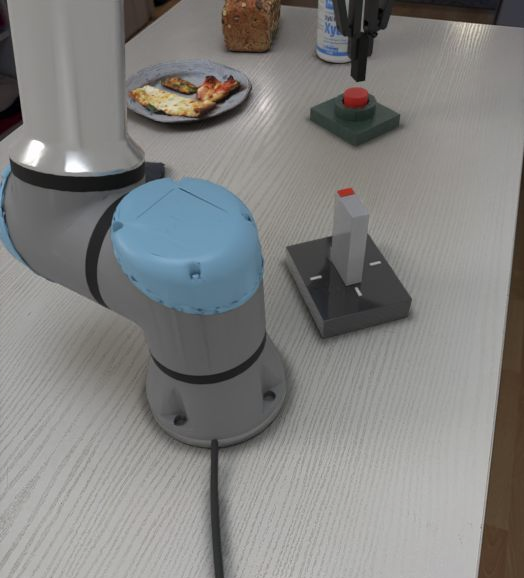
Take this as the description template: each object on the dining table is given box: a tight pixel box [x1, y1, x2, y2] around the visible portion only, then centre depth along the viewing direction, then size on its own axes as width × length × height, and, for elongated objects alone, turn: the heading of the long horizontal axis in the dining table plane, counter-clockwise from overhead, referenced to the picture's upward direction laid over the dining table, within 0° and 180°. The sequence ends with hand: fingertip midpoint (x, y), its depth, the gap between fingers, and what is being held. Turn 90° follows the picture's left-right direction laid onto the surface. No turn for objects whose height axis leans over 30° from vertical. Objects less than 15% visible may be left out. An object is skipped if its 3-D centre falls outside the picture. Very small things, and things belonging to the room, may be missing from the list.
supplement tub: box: [315, 0, 365, 64], centre depth 107 cm, size 10×10×15 cm
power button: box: [343, 86, 369, 107], centre depth 92 cm, size 4×4×2 cm
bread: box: [221, 0, 282, 53], centre depth 118 cm, size 19×11×10 cm, turn 170°
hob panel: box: [285, 232, 413, 339], centre depth 68 cm, size 14×11×3 cm
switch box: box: [309, 92, 401, 147], centre depth 94 cm, size 12×10×4 cm
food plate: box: [126, 58, 253, 124], centre depth 103 cm, size 25×23×4 cm
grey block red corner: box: [331, 187, 371, 286], centre depth 63 cm, size 5×2×10 cm, turn 17°
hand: (357, 78), depth 89 cm, fingers closed
